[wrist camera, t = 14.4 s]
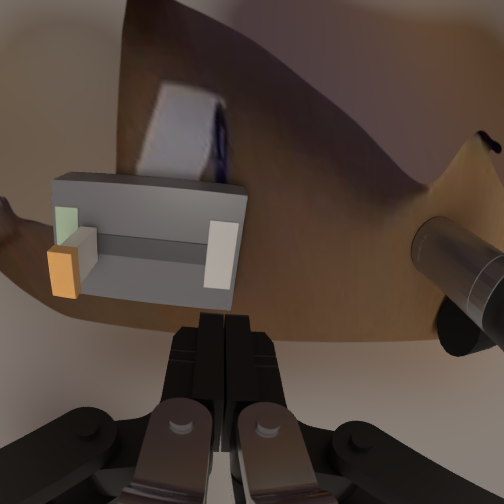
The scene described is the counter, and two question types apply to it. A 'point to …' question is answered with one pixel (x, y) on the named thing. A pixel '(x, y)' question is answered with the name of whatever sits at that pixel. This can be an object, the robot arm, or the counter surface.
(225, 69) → the counter surface
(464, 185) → the counter surface
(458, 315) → the black cylinder
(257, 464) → the robot arm
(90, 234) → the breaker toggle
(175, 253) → the breaker housing
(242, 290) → the counter surface
